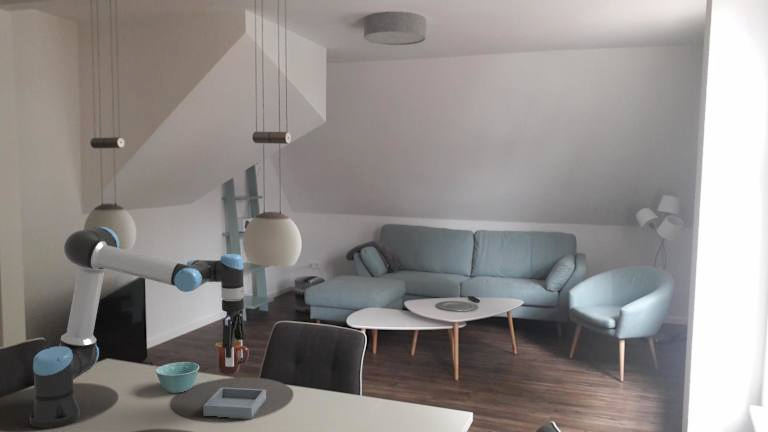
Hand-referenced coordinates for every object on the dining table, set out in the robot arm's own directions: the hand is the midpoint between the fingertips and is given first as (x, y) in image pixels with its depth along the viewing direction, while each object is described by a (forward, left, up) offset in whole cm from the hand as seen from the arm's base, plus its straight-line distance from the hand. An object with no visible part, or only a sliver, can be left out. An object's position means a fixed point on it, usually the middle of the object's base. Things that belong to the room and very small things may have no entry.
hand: (234, 361), depth 224 cm
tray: (0, 0, -17) cm, 17 cm away
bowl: (-28, +15, -17) cm, 36 cm away
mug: (0, 0, -4) cm, 4 cm away
